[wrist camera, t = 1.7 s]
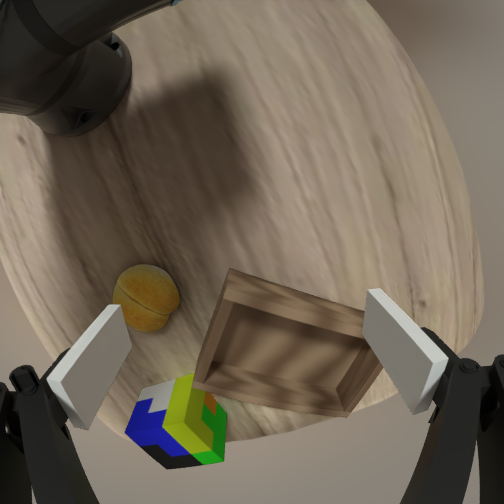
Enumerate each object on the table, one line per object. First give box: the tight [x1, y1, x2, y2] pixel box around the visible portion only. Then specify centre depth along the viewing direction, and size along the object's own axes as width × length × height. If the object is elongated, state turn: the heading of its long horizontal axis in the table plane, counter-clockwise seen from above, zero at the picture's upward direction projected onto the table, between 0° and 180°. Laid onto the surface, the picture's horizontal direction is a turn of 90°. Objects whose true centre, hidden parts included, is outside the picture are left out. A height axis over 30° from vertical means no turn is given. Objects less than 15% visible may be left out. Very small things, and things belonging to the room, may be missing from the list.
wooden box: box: [192, 268, 383, 418], centre depth 34 cm, size 22×14×6 cm, turn 70°
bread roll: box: [113, 264, 180, 332], centre depth 33 cm, size 8×9×4 cm
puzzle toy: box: [125, 373, 227, 469], centre depth 35 cm, size 10×10×10 cm
